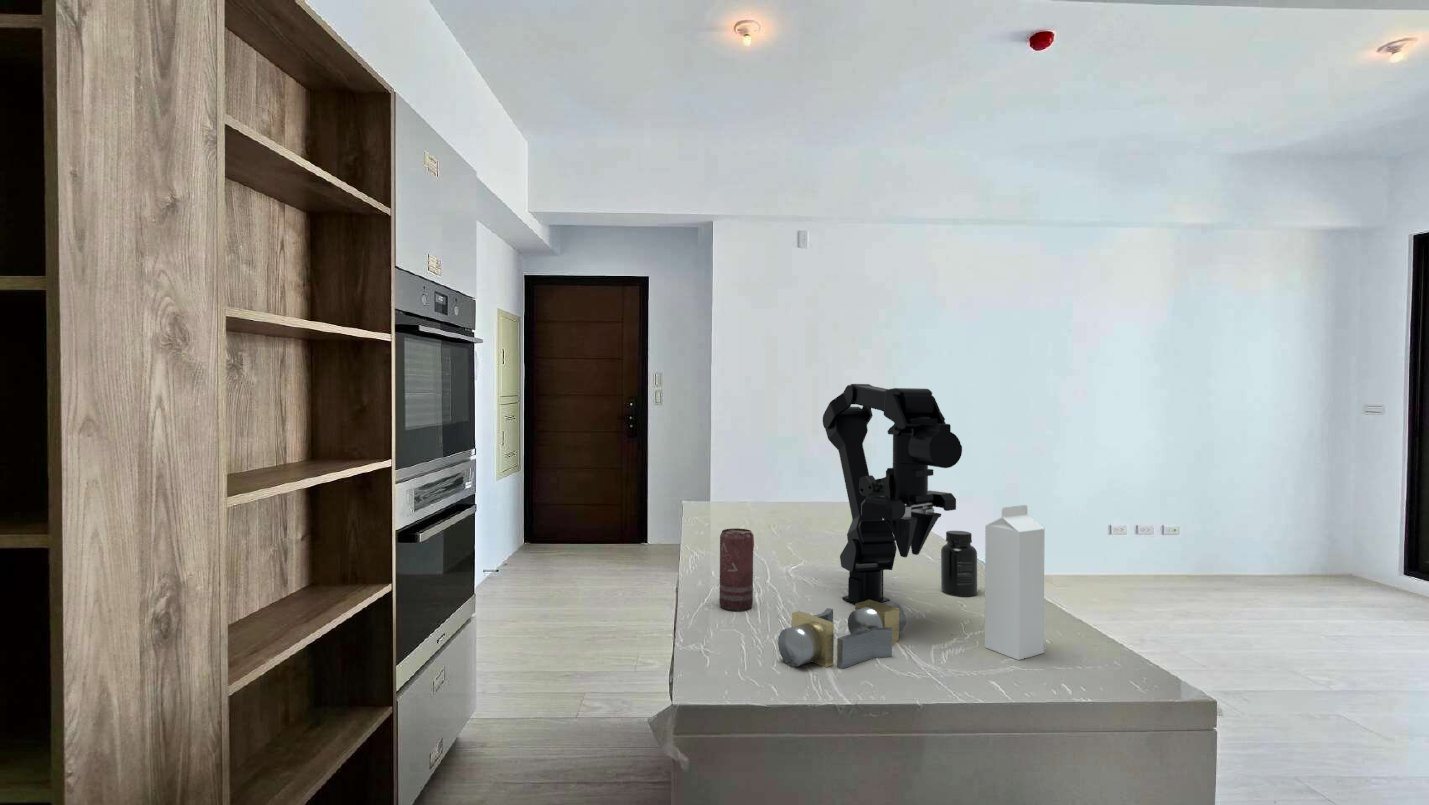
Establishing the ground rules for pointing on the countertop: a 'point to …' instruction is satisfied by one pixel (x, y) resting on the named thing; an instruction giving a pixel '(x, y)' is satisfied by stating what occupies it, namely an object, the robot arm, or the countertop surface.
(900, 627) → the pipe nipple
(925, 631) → the countertop surface
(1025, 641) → the milk
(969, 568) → the supplement bottle
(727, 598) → the can
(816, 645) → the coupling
